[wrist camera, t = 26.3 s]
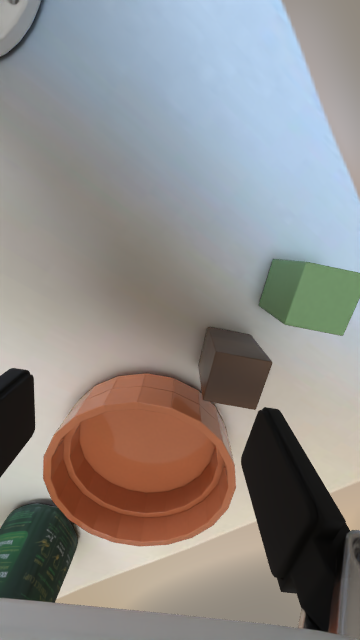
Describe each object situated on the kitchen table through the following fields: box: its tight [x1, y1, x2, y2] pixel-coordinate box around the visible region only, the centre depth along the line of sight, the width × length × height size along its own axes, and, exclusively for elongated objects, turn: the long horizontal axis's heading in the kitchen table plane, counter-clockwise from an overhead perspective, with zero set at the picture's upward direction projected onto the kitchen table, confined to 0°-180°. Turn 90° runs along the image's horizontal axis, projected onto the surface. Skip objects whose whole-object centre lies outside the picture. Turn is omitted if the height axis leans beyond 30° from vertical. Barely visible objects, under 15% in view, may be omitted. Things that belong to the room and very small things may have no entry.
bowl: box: [43, 373, 236, 546], centre depth 23 cm, size 17×17×5 cm
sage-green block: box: [259, 259, 360, 336], centre depth 17 cm, size 4×4×6 cm
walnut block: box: [198, 327, 272, 410], centre depth 19 cm, size 4×4×6 cm
